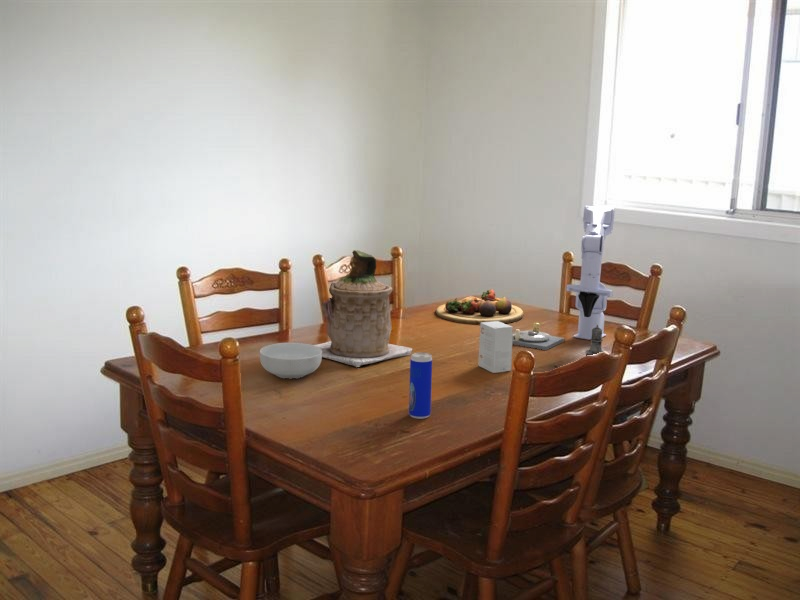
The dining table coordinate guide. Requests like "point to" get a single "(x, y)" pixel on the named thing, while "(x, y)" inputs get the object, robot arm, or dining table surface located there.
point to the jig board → (539, 345)
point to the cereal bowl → (290, 359)
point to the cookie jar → (359, 317)
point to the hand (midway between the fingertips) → (587, 316)
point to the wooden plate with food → (480, 309)
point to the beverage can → (420, 385)
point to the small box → (495, 346)
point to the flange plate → (533, 334)
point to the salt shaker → (595, 342)
